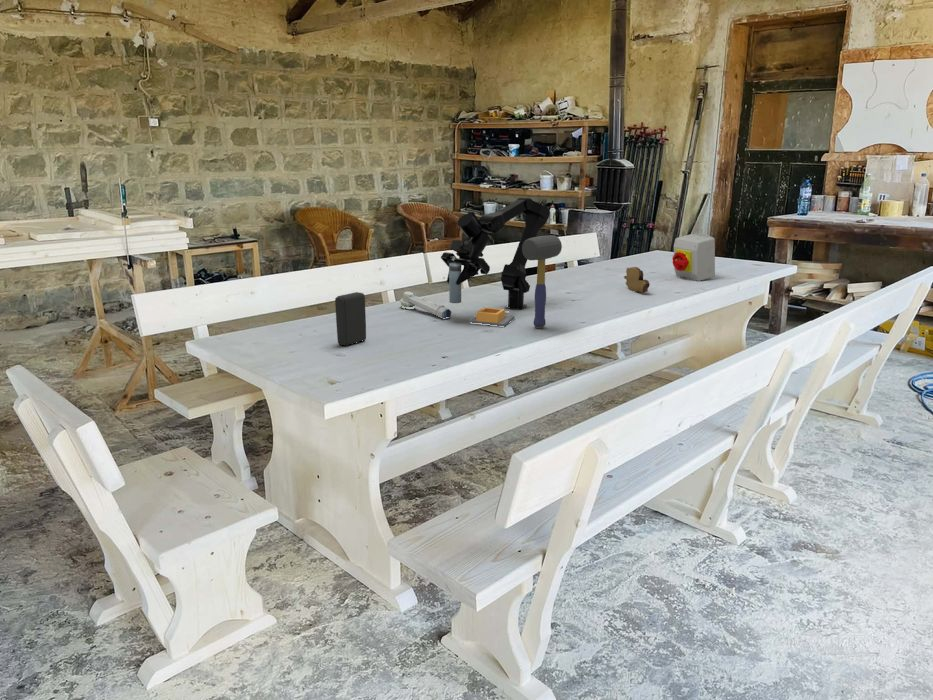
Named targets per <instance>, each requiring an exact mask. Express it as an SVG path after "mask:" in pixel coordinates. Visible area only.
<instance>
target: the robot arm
mask: <svg viewBox="0 0 933 700" xmlns="http://www.w3.org/2000/svg"><path fill="white" fill-rule="evenodd" d="M550 213H551V211H550V209H549V207H548V206H547V205H546V204H545V205H544V204H542V203H539V202H537V201H534V200H533V199H531V198H529V197H522V196H520V197H518V198H517V199H516V200H515V201H513V202H511V203H509V204H508V205H507V206H504V207H503V208H501V209H499V210H498V211H495V212H489V213H486V214H483V215H481V216H480V217H479V218H478V217H477V216H476V214H475V212H474V211H468V212H467V213H465V214H464V215H462V216H461V217H459V218H458V220H457V226H458V227H459V228H460V230H461V231H462V232H463V234H464V235H465V236H466V238H469V240H464V241H461V240H455V239H452V240H451V242H450V247H449V250H450V251H454V252H455V254H454V253H453V252H447V251H445V252H443V253H441V255H440V259H441V260H442V261H443V262H444V263H445V265H446V266H447V267H448V268H449V263H454V262H457V263H461V266H463V268H462V269H461V274H460V276H459V277H458V279H457V281H456V284H457V285H459V284H461V285H462V283H464V282H466V281H467V280H470V279H471V278H473V277H475V276H478V275H479V272H480V274H482V275H486V276H487V275H488V274H489V272H490V269H491V267H490V265H489V264H488V262H487V261H486V260H485V258H484V257H483V256H484V254H483V251H484V250H485V249H486V246H487V245H494V239H493V236H492V235H489V234H488V233H490V234H498V233H499V232H500V231H502V230H503V229H504V227H505V226H506V224H507V222H509V221H511V220H512V219H514V218H515V217H517V216H519V215H521V214H524V216H523V217H524V218H523V219H524V224H525V226H524V229H523V231H522V235H521V237H520V240H519V243H518V245H517V247H516V250H515V253H514V256H513V259H512V261H511V262H510V263H509V264H507V263H506V264H504V266H503V269H502V271H501V273H500V275H501V277H500V281H501V286H502V289H503V290H504V291H507V293H508V294H507V298H508V300H507V305H508V307H510V308H509V309H511V308H519V309H518V310H523V309H524V308H525V306H526V307H527V304H526V303H525V304H524V302H525V301H524V299H525V294H526V293H528V292H529V291H530V289H531V285H530V284H529V282H528V281H527V280H526V277H527V270H526V265H527V263H528V261H529V260H528V259H526V258H525V257H524V255H523V252H522V245H523V243H524V241H525V240H527V239H529V238H533V237H538V236H537V235H538V232H539V230H540V229H542V228H543V227H544V226H545V225H546V223H547V221H548V220H549V217H550ZM446 282H447V283H448V284H449V272H448V274H447V278H446ZM522 308H523V309H522Z"/></svg>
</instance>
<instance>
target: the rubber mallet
mask: <svg viewBox="0 0 933 700" xmlns="http://www.w3.org/2000/svg"><path fill="white" fill-rule="evenodd" d="M562 248H563V245H562V241H561V240H560V238H559V237H558V236H556V235H553V234H552V235H538V236H536V237H533V238H529V239H527V240H525V241H524V243H523V245H522V252H523V255H524V257H525V258H526V259H528V260H527V261H537V266H536V267H537V269H536V271H537V272H536V285H535V289H534V317H533V325H534V328H535V327H536V328H535V329H543V327H544V328H545V326H546V324H547V323H546V303H547V286H546V283H545V282H546V260H548V259H552V258H554V257H555V258H556V257H558V256H559V255H560V254H561V252H562Z"/></svg>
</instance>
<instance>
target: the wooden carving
mask: <svg viewBox="0 0 933 700" xmlns="http://www.w3.org/2000/svg"><path fill="white" fill-rule="evenodd" d="M625 273H626V275H625V276H623V278H624V279H625V280H626V282H625V285H626V286H627V288H628V289H629V290H630V291H631V290H632V292H633V291H635V292H634V293H637V292H640V293H642V294H643V293H644V294H645V293H647V292H648V289H649V288H650V285H651V283H650V281H649V280H647V279H644V271H643V270H641V268H639V267H638V266H632V267H626V269H625Z"/></svg>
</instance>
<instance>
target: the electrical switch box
mask: <svg viewBox="0 0 933 700" xmlns="http://www.w3.org/2000/svg"><path fill="white" fill-rule="evenodd" d="M674 239H675V240H674V244H673V255H672V259H671V260H672V265H673V269H674V273H675V275H676V276H677V277H679V276H681V277H680V278H683V277H685V278H684V279H687V278H688V279H687V280H691V279H693V280H692V281H695V280H697V281H696V282H702V281H704V280H708V279H711V278H712V279H713V278H715V276H716V254H715V253H716V252H715V250H716V243H715V242H716V239H715V237H713V236H710V235H708V234H706V233H704V232H703V233H702V232H700V233H691V234H687V235H683V236H678V237H676V238H674ZM701 280H702V281H701Z"/></svg>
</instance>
